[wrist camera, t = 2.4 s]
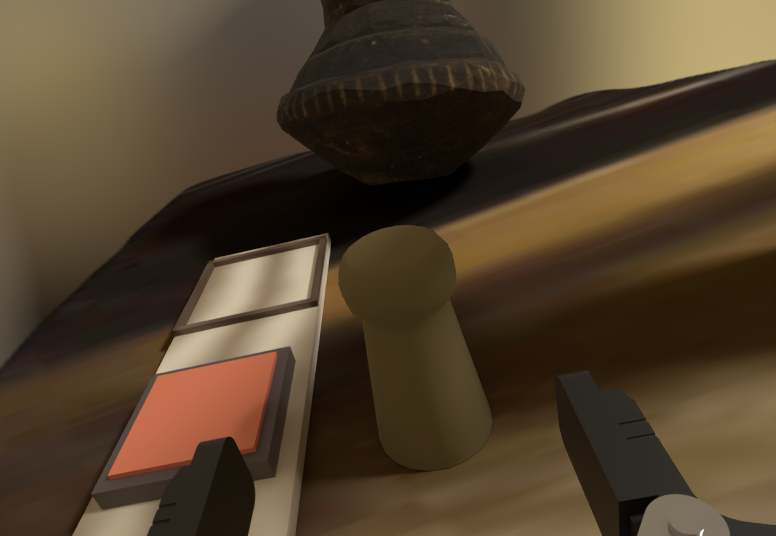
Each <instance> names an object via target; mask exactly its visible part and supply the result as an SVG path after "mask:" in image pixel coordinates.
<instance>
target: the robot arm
mask: <svg viewBox="0 0 776 536" xmlns="http://www.w3.org/2000/svg"><path fill="white" fill-rule="evenodd" d="M555 387H556V397H557V408H558V419H559V426H560V431H561V435H562V439H563V442H564V445H565V448H566V451H567V453H568V455H569V458H570V460H571V462H572V465H573V467H574V470H575V472H576V474H577V477H578V479H579V481H580V484H581V486H582V489H583V491H584V493H585V496H586V498H587V500H588V503H589V505H590V508H591V510H592V512H593V515H594V517H595V519H596V522H597V524H598V527H599V529H600V531H601V534H602V536H776V525H768V524H760V523H752V522H744V521H739V520H735V519H731V518H728V517H726V516H723V515H721V514H719V513H718V512H717V511H716V510H715V509H714V508H713V507H711V506H710V505H709V504H707V503H705V502H703V501H701V500H699V499H698V498H697V497H696V496H695V495H694V494H693V492H692V491H691V490H690V488H689V486H688V485H687V483H686V482H685V480H684V479H683V477H682V475H681V474H680V472H679V471H678V469H677V467H676V466H675V464H674V463H673V461H672V460H671V458H670V456H669V455H668V453H667V452H666V450H665V448H664V447H663V445H662V444H661V442H660V441H659V439H658V437H656V436H655V433H654V431H653V429H652V428H651V426H650V425H649V423H648V422H646V418H645V417H644V415H643V414H642V412H641V410H640V409H639V407H638V406H637V404H636V403H635V401H634V400H633V399H631V398H630V397H628V396H627V395H626V394H624V393H623V392H622V391H620V390H619V389H617V388H616V387H615V388H610V389H604V390H599V388H598V386H597V385H596V383H595V381H594V379H593V378H592V376H591V374H590V373H589V371H588V370H583V371H577V372H572V373H567V374H562V375H556V376H555ZM254 505H255V485H254V481H253V478H252V475H251V473H250V471H249V469H248V467H247V465H246V463H245V461H244V459H243V457H242V455H241V452H240V450H239V448H238V446H237V444H236V442H235V440H234V439H233V438H232V437H224V438H218V439H213V440H208V441H203V442H200V443H199V444H198V445H197V448H196V450H195V453H194V456H193V458H192V461H191V464H190V466H186V467H181V468H180V469H179V471H178V472H177V473H176V475H175V476H174V477H173V478H172V480H171V481H170V482H169V483H168V485H167V486H166V488H165V491H164V493H163V496H162V498H161V501H160V503H159V509H158V510H157V511H156V514H155V516H154V519H153V521H152V523H153V525H152V526H150V529H149V531H148V534H147V536H248V534H249V529H250V524H251V520H252V515H253V510H254Z"/></svg>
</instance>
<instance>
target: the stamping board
mask: <svg viewBox="0 0 776 536" xmlns="http://www.w3.org/2000/svg"><path fill="white" fill-rule="evenodd" d="M330 248H331V240H330V237H329V234H328V233H326V234H321V235H317V236H313V237H308V238H304V239H299V240H295V241H290V242H286V243H281V244H277V245H272V246H268V247H263V248H259V249H254V250H250V251H245V252H241V253H236V254H232V255H228V256H223V257H219V258H215V259H214V260H212V261H209V262H208V264H207V266H206V268H205V270H204V272H203V274H202V275H201V277H200V279H199V281H198V283H197V285H196V287H195V289H194V291H193V292H192V294H191V296H190V298H189V300H188V302H187V304H186V306H185V308H184V309H183V311H182V313H181V315H180V317H179V319H178V321H177V323H176V325H175V326H174V328H173V330H172V333H173V335H174V339H173V341H172V343H171V345H170V347H169V349H168V351H167V353H166V355H165V357H164V358H163V360H162V362H161V364H160V366H159V368H158V370H157V372H156V374H158V373H163V372H168V371H173V370H178V369H182V368H187V367H192V366H197V365H201V364H206V363H211V362H216V361H221V360H225V359H230V358H235V357H240V356H245V355H249V354H254V353H259V352H264V351H269V350H273V349H278V348H283V347H288V346H290V347H291V350H292V353H293V355H294V358H295V360H296V363H295V368H294V374H293V380H292V385H291V391H290V397H289V402H288V408H287V414H286V420H285V425H284V431H283V437H282V442H281V448H280V454H279V459H278V465H277V471H276V477H273V478H268V479H263V480H258V481H254V485H255V505H254V510H253V515H252V520H251V524H250V529H249V534H248V536H295V534H296V526H297V518H298V510H299V501H300V493H301V485H302V477H303V469H304V461H305V452H306V444H307V436H308V428H309V420H310V412H311V403H312V395H313V387H314V379H315V371H316V363H317V354H318V346H319V338H320V330H321V322H322V313H323V305H324V297H325V289H326V281H327V273H328V264H329V256H330ZM160 501H161V499H158V500H153V501H148V502H142V503H137V504H132V505H127V506H121V507H116V508H111V509H106V510H102V509H101V508H100V506H99V505H98V503H97V502H96V501H95V499H94V498H93V497H92V498H91V500H90V502H89V504H88V506H87V508H86V510H85V512H84V514H83V516H82V518H81V520H80V522H79V524H78V526H77V528H76V530H75V532H74V533H73V535H72V536H147V534H148V531H149V529H150V526H152V525H153V523H152V521H153V519H154V516H155V514H156V511H157V510H158V509H159V503H160Z"/></svg>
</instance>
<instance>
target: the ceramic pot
mask: <svg viewBox="0 0 776 536" xmlns="http://www.w3.org/2000/svg"><path fill="white" fill-rule="evenodd" d="M321 3H322V6H323V13H324V25H325V30H324V32H323V34H322V35H321V38H320V39H319V41H318V43H317V45H316V47H315V49H314V51H313V52H312V54H311V55H310V57H309V59H308V60H307V62H306V63H305V64H304V66H303V67H302V69H301V70H300V72H299V73H298V76H297V78H296V80H295V82H294V84H293V86H292V88H291V91H290V92H289V93H287V94H286V95H284V96H283V97H281V100H280V103H279V106H278V111H277V122H278V123H279V125H280V127H281V128H282V130H284V131H285V132H286V133H288V134H289V135H290V136H292V137H293V138H294V139H296V140H297V141H299V142H300V143H301V144H303V145H304V146H306V147H307V148H308V149H310V150H311V151H313V152H314V153H316V154H317V155H319V156H320V157H321V158H323V159H324V160H326V161H327V162H329V163H330V164H332V165H333V166H335V167H336V168H337V169H339V170H341V171H343V172H344V173H346V174H348V175H350V176H352V177H353V178H355V179H357V180H359V181H361V182H363V183H365V184H368V185H380V184H388V183H394V182H402V181H415V180H423V179H431V178H437V177H442V176H448V175H451V174H452V173H453V172H454V171H456V170H457V169H458V168H459V167H460V166H461V165H462V164H464V163H465V162H466V161H467V160H468V159H469V158H471V157H472V156H473V155H474V154H475V153H476V152H478V151H479V150H480V149H481V148H482V147H483V146H484V145H485V144H486V143H487V142H488V141H489V140H490V139H491V138H492V137H493V136H494V135H495V134H496V133H497V132H498V131H499V130H500V129H502V128H503V126H504V125H505V124H506V123H507V122H508V121H509V120H510V119H511V117H512V116H513V115H514V114H515V113H516V112H517V111H518V110H519V109H520V107H521V103H522V100H523V96H524V92H525V89H524V87H523V84H522V82H521V80H520V77H519V75H518V74H517V73H516V72H514V71H513V70H511V69H509V68H508V67H507V66H506V65H505V63H504V61H503V60H502V58H501V56H500V55H499V53H498V51H497V49H496V48H495V46H494V44H493V43H492V42H491V41H490V40H489V39H487V38H486V37H485V36H483V35H481V34H480V33H479V32H477V31H476V30H475V28H474V27H473V26H472V25H471V24H470V23H469V22H468V21H467V20H466V19H465V18H464V17H463V16H462V15H461V14H460V13H459V12H458V11H456V10H455V9H454V8H453V7H452V4H451V0H321Z"/></svg>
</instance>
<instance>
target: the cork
mask: <svg viewBox="0 0 776 536" xmlns="http://www.w3.org/2000/svg"><path fill="white" fill-rule="evenodd" d="M455 281H456V271H455V265H454V260H453V255H452V252H451V250H450V248H449V246H448V244H447V243H446V242H445V241H444V240H443V239H442V238H441V237H440V236H439V235H438V234H436V233H435V232H434V231H433V230H430V229H428V228H425V227H420V226H412V225H401V226H393V227H388V228H383V229H380V230H377V231H374V232H372V233H370V234H368V235H366V236H364V237H362V238H360V239H359V240H358V241H357V242H355V243H354V244H353V245H351V246H350V247H349V248H348V249H347V251H346V252H345V253H344V255H343V257H342V260H341V263H340V268H339V287H340V290H341V293H342V296H343V298H344V300H345V302H346V304H347V306H348V307H349V309H350V310H351V312H352V313H353V314H354V315H355V316H357V317H358V318H360V319H361V320H362V322H363V329H364V336H365V343H366V350H367V357H368V364H369V371H370V378H371V385H372V392H373V399H374V407H375V414H376V421H377V428H378V435H379V440H380V442H381V445H382V447H383V450H384V452H385V453H386V454H387V455H388V456H389V457H390V458H391V459H392V460H393V461H394V462H396V463H398V464H400V465H403V466H405V467H407V468H410V469H416V470H424V471H433V470H440V469H446V468H450V467H453V466H455V465H457V464H460V463H462V462H464V461H467V460H468V459H469V458H470V457H472V456H473V455H474V454H475V453H477V452H478V451H479V450H480V449H481V448H482V447H483V445H484V444H485V442H486V441H487V439H488V437H489V436H490V433H491V428H492V423H493V419H492V415H491V410H490V407H489V404H488V401H487V398H486V396H485V393H484V390H483V388H482V385H481V382H480V380H479V377H478V374H477V371H476V369H475V366H474V363H473V361H472V358H471V355H470V353H469V350H468V347H467V344H466V342H465V339H464V336H463V334H462V331H461V328H460V326H459V323H458V320H457V317H456V315H455V312H454V309H453V307H452V304H451V301H450V297H451V295H452V293H453V290H454V287H455Z"/></svg>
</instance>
